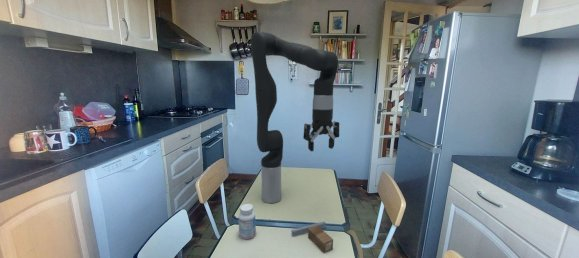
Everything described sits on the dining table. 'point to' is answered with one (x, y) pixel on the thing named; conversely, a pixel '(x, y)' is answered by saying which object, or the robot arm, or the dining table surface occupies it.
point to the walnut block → (320, 238)
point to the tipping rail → (305, 229)
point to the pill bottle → (247, 222)
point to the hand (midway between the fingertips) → (321, 149)
